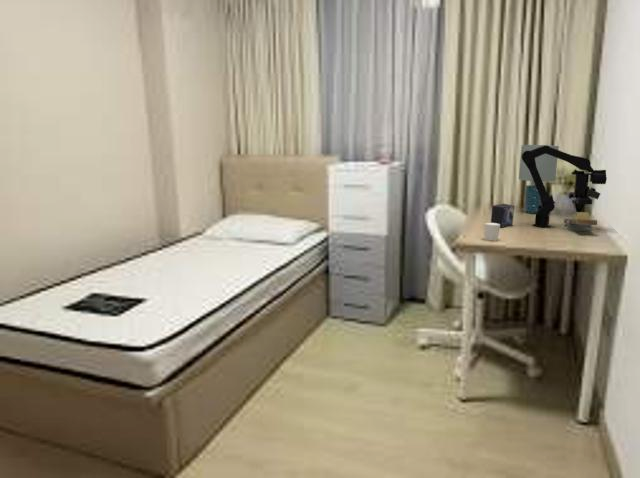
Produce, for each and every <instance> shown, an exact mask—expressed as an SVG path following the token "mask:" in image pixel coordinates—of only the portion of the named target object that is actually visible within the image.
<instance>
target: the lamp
mask: <svg viewBox="0 0 640 478" xmlns="http://www.w3.org/2000/svg"><path fill="white" fill-rule="evenodd" d="M543 145H544V144H522V145H521V149H520V159H519V161H520V162H519V172H518V180H521V181H526V182H533V184H528V185H526V186H525V191H524V211H525V212H526V213H529V214H535V215H536V214H537V213H538V212H537V210H536V208H537V207H539V206H540V205H541V202H540V196H539V193H538V190H537V188H536V186H535V183H534V181H533V178H532V176H531V173H530V171H529V169H528V167H527V166H526V164H525V163H524V161H523V160H522V157H521V155H522V153H523V152H524V151H525V150H530V151H531V150H533V149H536V148H539V147H542V146H543ZM546 145H547V144H546ZM547 146H549V147H551V148H554V149H557V150H559V149H560V148H559V145H550V144H548V145H547ZM535 162H536V167H537V170H538V172H539V175H540V177H541V180H542V182H543V183H544V182H545V183H546V182H555V181H556V177H557V169H558V168H557V167H558V158H556V157H553V156H551V155H548V154H543V155H541V156H539V157H536V158H535ZM544 187H545V189H546V190H547V186H545V185H544Z"/></svg>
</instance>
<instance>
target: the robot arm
mask: <svg viewBox="0 0 640 478" xmlns="http://www.w3.org/2000/svg"><path fill="white" fill-rule="evenodd" d="M542 145H543V146H542V147H539V148H536V149H533V150H531V151H530V150H525V151H524V152H523V153H522V155H521V154H520V158H521V157H522V160H523V161H524V163H525V164H526V166H527V167H528V169H529V171H530V173H531V176H532V178H533V181H532V182H533V184H534V183H535V186H536V188H537V190H538V193H539V196H540V202H541V205H540V206H539V207H537V208H536V210H537V212H538V213H537V214H535V219H534V223H533V224H532V225H531V226H533V227H538V228H551V227H552V225H551V224H550V213H551V212H553V211H554V210H555V206H556V205H555V204H556V201H555V200H554V197H553V194H551V193H550V194H548V192H547V188H546V189H545V187H544V186H545V184H544V182H542V180H541V177H540V175H539V172H538V170H537V167H536V162H535V158H536V157H539V156H541V155H543V154H548V155H551V156H553V157H556V158H557V159H559V160H561V161H564V162H567V163H569V164H571V165H572V166H574V167H576V168H577V169H579V170H577V169H576V168H575V169H574V170H573V171H572V172H571V174H572V175H575V179H574V185H573V188H574V189H573V191H571V192H570V193H569V194H568V199H572V198H573V199H572V200H571V202H572V205H573V207H574V210H575V212H583V209H584V206H586V205H592V204H593V199H595V200H599V198H600V196H601V192H599V191H596V188H594V187H591V188H590V186H589V183H591V184H592V185H606V184H607V179H608V178H607V170H606V169H600V170H599V169H594V168H593V167H592V166H591V165H592V164H591V160H590V159H588V158H587V157H585V156H584V157H583V156H579V155H573V154H570V153H567V152H564V151H562V150H559V149H558V150H557V149H554V148H551V147H549V146H547V144H542ZM585 171H586V172H585ZM592 198H593V199H592Z"/></svg>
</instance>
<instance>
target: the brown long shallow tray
mask: <svg viewBox="0 0 640 478" xmlns="http://www.w3.org/2000/svg"><path fill="white" fill-rule="evenodd" d="M568 220H570V221H571V222H570V224H581V225H592V226H597V225H598V220H597V219H589V220H577V219H573V218H564V219H563V224H566V223H567V221H568Z"/></svg>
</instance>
